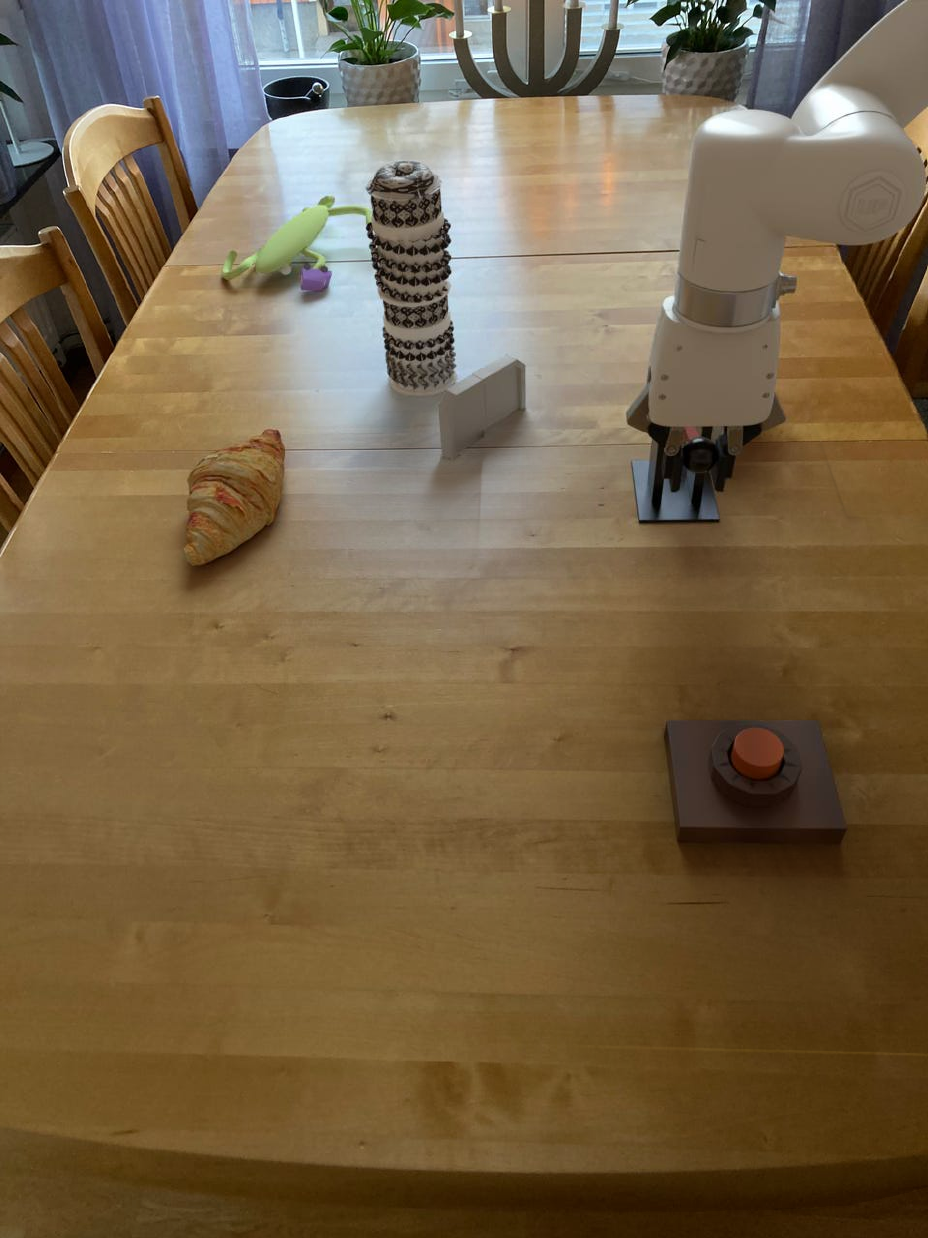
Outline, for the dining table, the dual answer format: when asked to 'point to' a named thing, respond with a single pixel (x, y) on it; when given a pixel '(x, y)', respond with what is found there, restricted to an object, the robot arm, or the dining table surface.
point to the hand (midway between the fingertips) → (695, 481)
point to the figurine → (296, 246)
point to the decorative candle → (412, 277)
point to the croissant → (233, 496)
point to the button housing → (751, 786)
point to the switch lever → (698, 452)
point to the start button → (757, 753)
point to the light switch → (480, 403)
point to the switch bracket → (673, 506)
